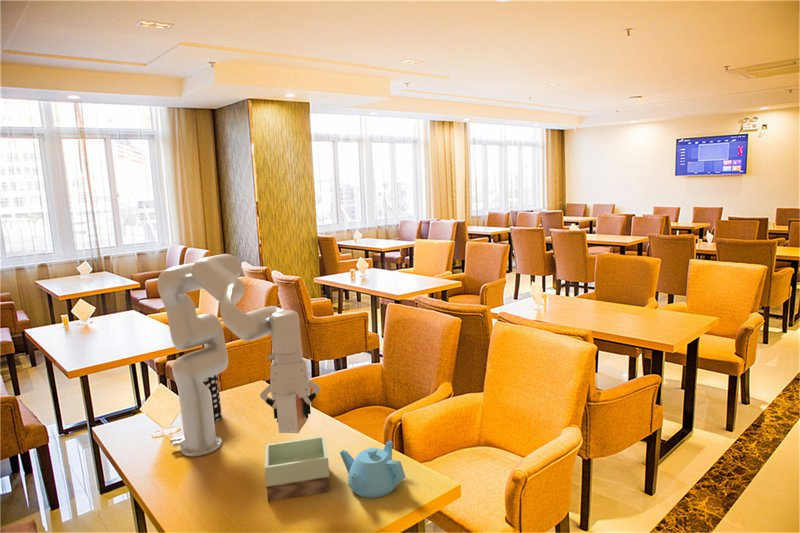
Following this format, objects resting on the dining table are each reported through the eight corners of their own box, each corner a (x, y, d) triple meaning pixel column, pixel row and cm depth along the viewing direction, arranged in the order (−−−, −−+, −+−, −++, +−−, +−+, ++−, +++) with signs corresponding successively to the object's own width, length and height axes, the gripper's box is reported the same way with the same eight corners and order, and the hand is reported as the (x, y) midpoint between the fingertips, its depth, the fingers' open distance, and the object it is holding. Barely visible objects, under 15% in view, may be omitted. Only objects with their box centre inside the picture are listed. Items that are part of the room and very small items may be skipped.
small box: (298, 434, 143) (295, 396, 141) (278, 433, 144) (275, 396, 142) (307, 420, 151) (305, 385, 149) (288, 420, 151) (285, 384, 150)
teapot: (351, 508, 138) (348, 469, 136) (341, 477, 152) (338, 442, 150) (408, 495, 142) (406, 458, 140) (392, 467, 156) (391, 432, 154)
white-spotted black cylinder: (207, 425, 189) (201, 371, 186) (192, 420, 193) (186, 367, 190) (226, 416, 196) (221, 363, 193) (211, 411, 200) (205, 360, 197)
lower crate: (268, 502, 142) (266, 486, 141) (268, 476, 154) (267, 461, 154) (330, 491, 145) (329, 476, 145) (326, 466, 158) (325, 452, 157)
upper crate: (266, 486, 141) (264, 467, 140) (267, 461, 154) (265, 444, 153) (329, 476, 145) (328, 458, 144) (325, 452, 157) (324, 435, 156)
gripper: (253, 364, 138) (259, 429, 141) (321, 357, 142) (325, 420, 145) (255, 355, 146) (260, 417, 149) (319, 348, 149) (323, 408, 152)
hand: (292, 418), depth 147 cm, fingers closed on small box, 7 cm apart
